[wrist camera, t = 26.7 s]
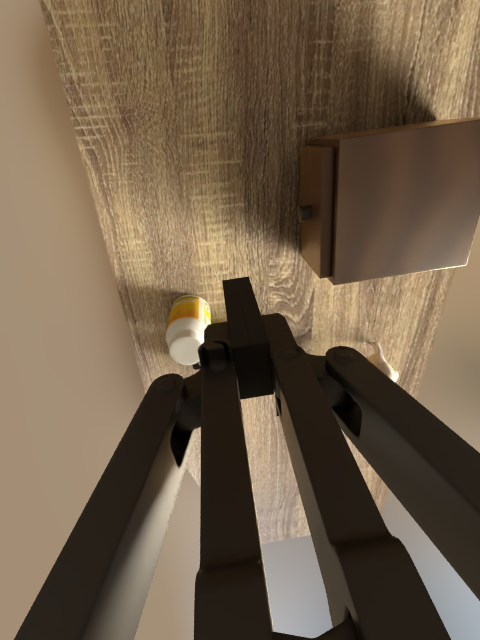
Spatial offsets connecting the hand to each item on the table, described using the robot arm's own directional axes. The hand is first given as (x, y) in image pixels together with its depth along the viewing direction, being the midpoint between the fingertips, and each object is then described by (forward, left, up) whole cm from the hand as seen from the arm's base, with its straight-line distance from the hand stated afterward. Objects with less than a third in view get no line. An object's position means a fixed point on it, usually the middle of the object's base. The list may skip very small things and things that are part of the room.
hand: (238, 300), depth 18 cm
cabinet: (+18, 0, -22) cm, 29 cm away
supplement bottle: (-6, -12, -23) cm, 26 cm away
